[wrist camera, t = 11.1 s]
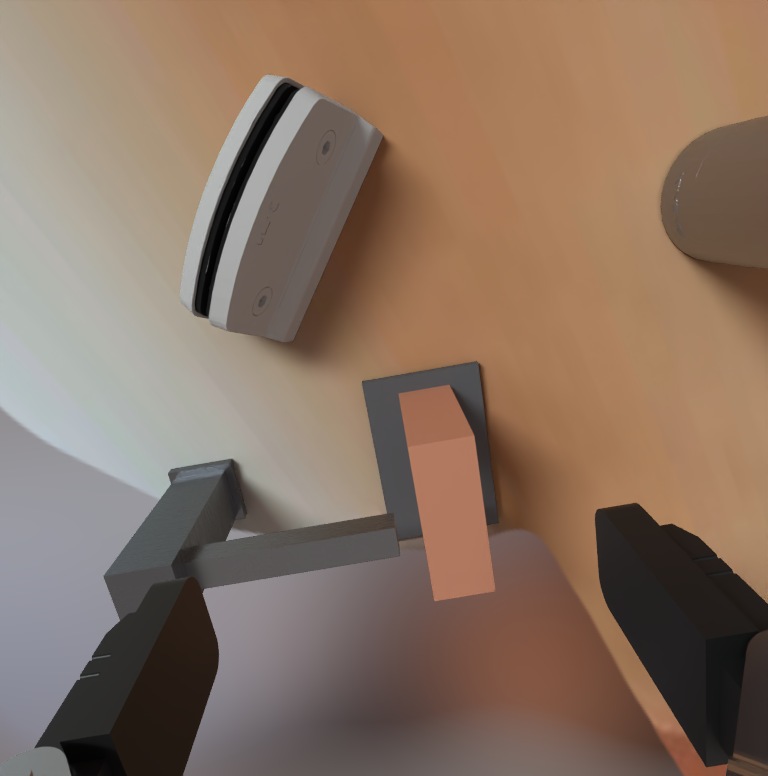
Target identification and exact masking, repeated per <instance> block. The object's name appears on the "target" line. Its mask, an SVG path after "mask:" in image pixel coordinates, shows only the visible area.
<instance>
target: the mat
mask: <svg viewBox="0 0 768 776" xmlns="http://www.w3.org/2000/svg"><path fill="white" fill-rule="evenodd" d="M445 385H450V387H451V389H452V391H453V393H454V395H455V397H456V399H457V401H458V403H459V405H460V407H461V409H462V411H463V413H464V415H465V417H466V419H467V421H468V424H469V426H470V428H471V430H472V432H473V434H474V436H475V444H476V451H477V458H478V466H479V473H480V481H481V488H482V495H483V503H484V510H485V517H486V525H490V524H496V523H499V522H498V514H497V506H496V499H495V491H494V483H493V475H492V467H491V459H490V452H489V444H488V436H487V428H486V420H485V413H484V405H483V397H482V389H481V381H480V373H479V366H478V362H477V361H476V362H471V363H465V364H459V365H453V366H448V367H442V368H436V369H430V370H425V371H419V372H413V373H408V374H402V375H396V376H390V377H385V378H379V379H373V380H368V381H362V386H363V391H364V396H365V401H366V406H367V411H368V417H369V422H370V427H371V432H372V437H373V442H374V448H375V453H376V458H377V463H378V468H379V473H380V479H381V484H382V489H383V494H384V499H385V504H386V510H387V514H389V513H394V519H395V524H396V529H397V534H398V540H400V539H406V538H412V537H418V536H423V532H422V527H421V521H420V515H419V509H418V504H417V498H416V492H415V487H414V481H413V475H412V469H411V464H410V458H409V452H408V446H407V441H406V435H405V429H404V423H403V418H402V412H401V406H400V400H399V393H405V392H410V391H416V390H422V389H428V388H433V387H439V386H445Z"/></svg>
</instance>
